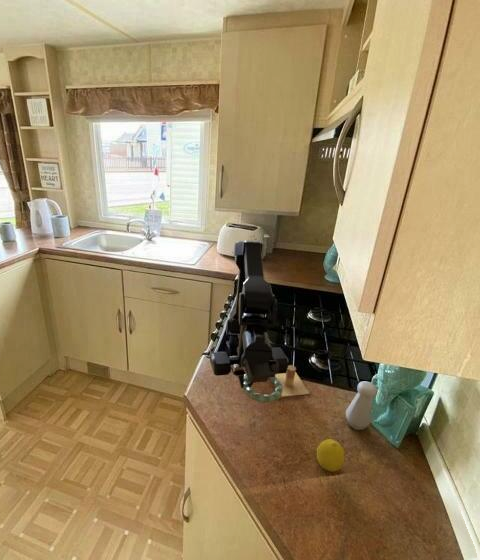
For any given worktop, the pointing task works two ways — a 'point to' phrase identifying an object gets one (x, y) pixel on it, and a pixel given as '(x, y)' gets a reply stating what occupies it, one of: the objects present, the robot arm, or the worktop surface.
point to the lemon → (330, 455)
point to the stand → (291, 383)
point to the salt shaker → (361, 406)
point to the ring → (260, 397)
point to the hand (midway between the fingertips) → (245, 386)
